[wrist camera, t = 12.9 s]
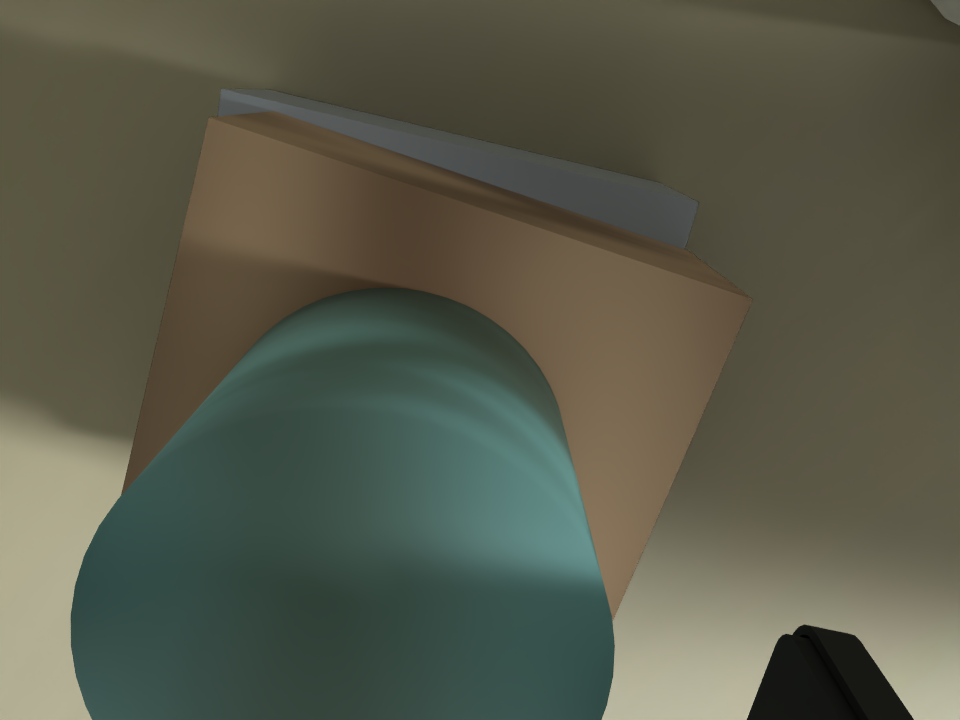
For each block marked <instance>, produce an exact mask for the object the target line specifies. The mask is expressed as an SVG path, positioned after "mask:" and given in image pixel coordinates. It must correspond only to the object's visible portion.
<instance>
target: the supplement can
mask: <svg viewBox="0 0 960 720" xmlns="http://www.w3.org/2000/svg"><path fill="white" fill-rule="evenodd" d="M931 2H932V3H933V4H934V5H935V6H936V8H937V9H938V10H939V11H940V13H941V14H942V15H943V16H944V18H946V19H948V20H949V21H951V22H953V23H955V24H957V25H959V26H960V0H931Z"/></svg>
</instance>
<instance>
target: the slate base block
mask: <svg viewBox="0 0 960 720" xmlns="http://www.w3.org/2000/svg"><path fill="white" fill-rule="evenodd" d="M270 111H276V112H279V113H282V114H285V115H288V116H291V117H294V118H297V119H300V120H303V121H306V122H309V123H311V124H314V125H317V126H320V127H323V128H326V129H329V130H332V131H335V132H338V133H341V134H344V135H347V136H350V137H353V138H356V139H359V140H362V141H365V142H368V143H371V144H374V145H377V146H380V147H383V148H386V149H388V150H391V151H394V152H397V153H400V154H403V155H406V156H409V157H412V158H415V159H418V160H421V161H424V162H427V163H430V164H433V165H436V166H439V167H442V168H445V169H448V170H451V171H454V172H457V173H460V174H462V175H465V176H468V177H471V178H474V179H477V180H480V181H483V182H486V183H489V184H492V185H495V186H498V187H501V188H504V189H507V190H510V191H513V192H516V193H519V194H522V195H525V196H528V197H531V198H534V199H537V200H539V201H542V202H545V203H548V204H551V205H554V206H557V207H560V208H563V209H566V210H569V211H572V212H575V213H578V214H581V215H584V216H587V217H590V218H593V219H596V220H599V221H602V222H605V223H608V224H611V225H614V226H616V227H619V228H622V229H625V230H628V231H631V232H634V233H637V234H640V235H643V236H646V237H649V238H652V239H655V240H658V241H661V242H664V243H667V244H670V245H673V246H676V247H679V248H682V249H685V247H686V244H687V241H688V238H689V234H690V231H691V228H692V224H693V221H694V218H695V214H696V211H697V208H698V205H699V202H698V201H696V200H694V199H692V198H690V197H687V196H685V195H683V194H681V193H679V192H677V191H675V190H673V189H671V188H669V187H667V186H665V185H663V184H661V183H659V182H655V181H650V180H646V179H642V178H638V177H634V176H629V175H625V174H621V173H617V172H613V171H608V170H604V169H600V168H596V167H592V166H587V165H583V164H579V163H575V162H571V161H566V160H562V159H558V158H554V157H550V156H545V155H541V154H537V153H533V152H529V151H525V150H520V149H516V148H512V147H508V146H504V145H499V144H495V143H491V142H487V141H483V140H478V139H474V138H470V137H466V136H462V135H457V134H453V133H449V132H445V131H441V130H436V129H432V128H428V127H424V126H420V125H415V124H411V123H407V122H403V121H399V120H394V119H390V118H386V117H382V116H378V115H373V114H369V113H365V112H361V111H357V110H353V109H348V108H344V107H340V106H336V105H332V104H327V103H323V102H319V101H315V100H311V99H306V98H302V97H298V96H294V95H290V94H285V93H281V92H277V91H273V90H269V89H221V94H220V102H219V109H218V116H228V115H238V114H249V113H260V112H270Z"/></svg>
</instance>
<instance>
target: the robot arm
mask: <svg viewBox="0 0 960 720" xmlns="http://www.w3.org/2000/svg"><path fill="white" fill-rule="evenodd" d="M747 720H914V719H913V718H912V716H911V715H910V713H909V712H908V710H907V709H906V707H905V706H904V704H903V703H902V701H901V700H900V699H899V697H898V696H897V694H896V693H895V691H894V690H893V688H892V687H891V685H890V684H889V682H888V681H887V679H886V678H885V676H884V675H883V674H882V672H881V671H880V669H879V668H878V666H877V665H876V663H875V662H874V660H873V659H872V657H871V656H870V654H869V653H868V652H867V650H866V649H865V647H864V646H863V644H862V643H861V641H860V640H859V639H858V638H857V637H856V636H855V635H851V634H848V633H843V632H838V631H833V630H828V629H823V628H819V627H814V626H809V625H802V626H800V627H798V628H797V630H796V631H795V632H794V633H793V635H789V634H785V635H782V636H781V637H780V638H779V639H778V641H777V643H776V645H775V648H774V651H773V653H772V656H771V658H770V661H769V664H768V666H767V669H766V671H765V674H764V677H763V679H762V682H761V684H760V687H759V690H758V692H757V695H756V697H755V700H754V703H753V705H752V708H751V710H750V713H749V716H748V718H747Z"/></svg>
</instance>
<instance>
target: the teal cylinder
mask: <svg viewBox="0 0 960 720" xmlns="http://www.w3.org/2000/svg"><path fill="white" fill-rule="evenodd" d="M71 648H72V654H73V660H74V667H75V673H76V677H77V681H78V684H79V687H80V690H81V693H82V696H83V699H84V702H85V705H86V707H87V710H88V712H89V714H90V716H91V718H92V720H601V719H602V716H603V714H604V711H605V708H606V706H607V702H608V697H609V692H610V688H611V683H612V678H613V667H614V649H615V644H614V634H613V624H612V614H611V611H610V607H609V603H608V599H607V595H606V591H605V587H604V583H603V579H602V575H601V571H600V567H599V563H598V559H597V555H596V551H595V547H594V543H593V540H592V536H591V532H590V528H589V524H588V520H587V516H586V512H585V508H584V504H583V500H582V496H581V492H580V488H579V484H578V480H577V476H576V473H575V469H574V465H573V461H572V457H571V453H570V449H569V445H568V441H567V437H566V433H565V429H564V425H563V421H562V417H561V413H560V410H559V406H558V403H557V401H556V399H555V396H554V394H553V391H552V389H551V386H550V384H549V383H548V381H547V379H546V378H545V376H544V374H543V372H542V371H541V369H540V367H539V366H538V365H537V363H536V362H535V361H534V359H533V358H532V357H531V356H530V354H529V353H528V352H527V350H526V349H525V348H524V347H523V346H522V345H521V344H520V343H519V342H518V341H517V340H516V339H515V338H514V337H513V336H512V335H511V334H510V333H509V332H507V331H506V330H505V329H503V328H502V327H501V326H499V325H498V324H497V323H495V322H494V321H493V320H491V319H490V318H488V317H487V316H485V315H483V314H481V313H480V312H478V311H476V310H474V309H472V308H471V307H469V306H467V305H464V304H462V303H459V302H457V301H454V300H452V299H449V298H447V297H443V296H440V295H436V294H432V293H428V292H424V291H419V290H411V289H403V288H369V289H361V290H353V291H348V292H344V293H340V294H336V295H332V296H329V297H325V298H323V299H321V300H318V301H316V302H313V303H311V304H308V305H306V306H304V307H302V308H300V309H299V310H297V311H295V312H294V313H292V314H290V315H288V316H287V317H285V318H284V319H282V320H281V321H280V322H278V323H277V324H276V325H275V326H273V327H272V328H271V329H269V330H268V331H267V332H266V333H265V334H264V335H263V336H262V337H261V338H260V339H259V340H258V341H257V342H256V343H255V344H254V345H253V346H252V347H251V348H250V349H249V351H248V352H247V353H246V354H245V355H244V356H243V357H242V359H241V360H240V361H239V362H238V363H237V364H236V365H235V367H234V368H233V369H232V370H231V371H230V372H229V373H228V375H227V376H226V377H225V378H224V379H223V380H222V381H221V383H220V384H219V385H218V386H217V387H216V388H215V389H214V391H213V392H212V393H211V394H210V395H209V396H208V397H207V398H206V400H205V401H204V402H203V403H202V404H201V405H200V406H199V408H198V409H197V410H196V411H195V412H194V413H193V414H192V416H191V417H190V418H189V419H188V420H187V421H186V422H185V424H184V425H183V426H182V427H181V428H180V429H179V430H178V432H177V433H176V434H175V435H174V436H173V437H172V438H171V440H170V441H169V442H168V443H167V444H166V445H165V446H164V448H163V449H162V450H161V451H160V452H159V453H158V454H157V455H156V457H155V458H154V459H153V460H152V461H151V462H150V463H149V465H148V466H147V467H146V468H145V469H144V470H143V471H142V473H141V474H140V475H139V476H138V477H137V478H136V479H135V481H134V482H133V483H132V484H131V485H130V486H129V487H128V489H127V490H126V491H125V492H124V493H123V494H122V495H121V497H120V498H119V499H118V500H117V502H116V503H115V504H114V506H113V507H112V509H111V510H110V511H109V513H108V514H107V516H106V517H105V518H104V520H103V521H102V523H101V524H100V525H99V527H98V529H97V531H96V533H95V535H94V537H93V539H92V541H91V543H90V545H89V547H88V549H87V551H86V553H85V556H84V559H83V562H82V565H81V568H80V571H79V575H78V578H77V581H76V584H75V590H74V597H73V604H72V611H71Z"/></svg>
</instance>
